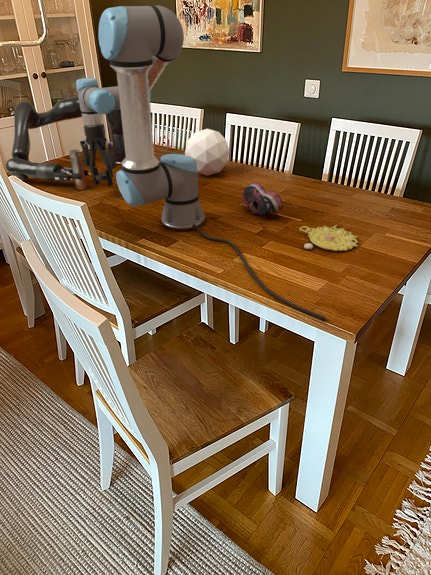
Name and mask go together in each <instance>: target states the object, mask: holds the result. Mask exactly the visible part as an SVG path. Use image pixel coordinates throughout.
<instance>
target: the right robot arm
mask: <svg viewBox="0 0 431 575" xmlns="http://www.w3.org/2000/svg"><path fill="white" fill-rule="evenodd" d="M184 39H185V32H184V28H183V25H182V23H181V21H180V18H178V16H177V15H176V13H174V12H173V11H172V10H171V9H170V8H167V7H165V6H162V5H158V4H157V5H129V6H125V5H121V6H120V5H119V6H113V7H108V8H106V9H104V11H103V12H102V14H101V16H100V18H99V22H98V44H99V48H100V52H101V54H102V56H103V58H104V59H105V60H108V61H109V66H110V68H112V69H113V71H115V73H116V79H117V80H116V81H117V85H116V86H109V87H100V85H99V82H98V80H97V79H96V78H94V77H84V78H79V79H77V80H76V83H75V84H76V85H75V86H76V93H77V96H78V98H79V103H80V109H81V115H82V117H81V120H82V124H83V132H84V135H85V139H82V140H80V141H79V144H80V147H81V150H82V156H83V162H84V166H85V168H89V170H90V175H91V177H92V178H93V184H94V186H98V185H100V183H101V182H100V181H99V180H96V178H95V174H97V173H99V171H98V167H97V166H96V160H97V151H98V153H99V155H100V156H101V158H102V162H103V164H104V167H105V170H104V172H105V173H106V180H105V181H106V185H107V187H108V188H110V187H111V186H113V177H114V173H113V170H114V169H116V168H117V164H116V161H115V155H114V149H113V147H114V142H111V141H109V140H108V139H107V137H106V127H105V124H104V115H106V114H108V113H110V112H111V111H114V110H121V118H122V127H123V136H124V145H125V155H126V157H125V159H124V160H123V161H122V164H121V169H119V170H118V171H116V173H115V179H116V180H115V181H116V184H117V187H118V190H119V192H120V194H121V196H122V198H123V200H124V201H125V202H126V203H127V204H128V205H129V206H130V207H138V206H145V205H147V204H151V203H155V202H159V201H162V200H164V204H163V209H162V213H161V219H160V220H161V225H162V227H163V228H165V229H167V230H170V231H175V232H176V231H177V232H185V231H186V232H187V231H192V230H195V229H196V230H197V231H198V232H199V233H200V234H201V235H202V236H203V237H204V238H207V239H209V240H212V241H218V242H224V243H227V244H229V245H231V246H232V247H233V249H234V250H235V251H236V254H237V255H238V256H239V258H240V259H241V261H242V262H243V264H244V266H245V267H246V269H247V271H248V272H249V273H250V275H251V276H252V279H254V280H255V281H256V282H257V284H258V285H259V286H260V287H261V288H262V289H264V291H265V292H267V293H269V294H270V295H272V296H273V297H274V298H276V299H277V300H279V301H281V302H283V303H285V304H287V305H289V306H291V307H293V308H294V309H297V310H299V311H300V312H303V313H306V314H308V315H311V316H314V317H316V318H319V319H322V320H323V321H324V320H326V316H324V315H321V314H319V313H317V312H314V311H311V310H309V309H306V308H304V307H301V306H300V305H297V304H296V303H292V302H291V301H288V300H287V299H285V298H283V297H281V296H280V295H278V294H276V293H275V292H273V290H271V289H270V288H268V287H267V286H266V285H265V284H264V283H263V282H262V281H261V280H260V279H259V278H258V277H257V276H256V274H255V273H254V271H253V270H252V269H251V267H250V266H249V264H248V262H247V261H246V259H245V258H244V256H243V254H242V253H241V252H240V251H239V250H240V249H239V248H238V247H237V246H236V244H235V243H233V242H232V241H230V240H228V239H224V238H218V237H212V236H209V235H208V234H206V233H205V232H204V231H203V230H202V229H201V227H202V226H203V225H204V224H205V223H206V215H205V212H204V210H203V208H202V204H201V202H200V196H199V176H198V174H199V173H198V170H197V163H196V160H195V159H194V158H192V157H190V156H186V155H185V154H178V153H176V154H175V153H169V154H163V155H161V156H160V159H158V158H157V157H156V156H155V152H154V138H153V137H154V136H153V127H152V126H153V122H152V109H151V101H152V92H151V90H152V89H153V87H154V85H155V84H156V83H157V81H158V79H159V78H160V76H161V75H162V73H163V72H164V70H165V69H166V68H167V66H168V65H169V63H172V62H174V61H175V60H176V59H177V58H178V56H179V54H180V53H181V51H182V49H183V45H184Z"/></svg>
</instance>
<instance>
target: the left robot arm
mask: <svg viewBox="0 0 431 575" xmlns="http://www.w3.org/2000/svg"><path fill="white" fill-rule="evenodd" d="M13 109H14V110H13V111H14V112H13V120H14V136H13V142H12V143H13V144H12V149H11V158H9V159H7V160H6V162H5V169H6V170H7V172H8V173H9V174H10V175H11V176H12V177H14V176H16V177H18V178H19V179H21V180H22V181H21V182H24V181H26V180H27V179H28V178H29V179H32V180H41V181H44V182H45V181H46V182H57V183H60V182H70V181H73V180H74V179H77V180H81V179H82V175H81V174H74V173H73V171H72V166H70V167H63V166H62V164H60V163H54V162H33V161H30V158H29V156H30V151H31V139H30V131H29V130H34V129H38V128H41V127H45V126H49V125H51V124H55V123H60V122H63V121H64V122H65V121H70V120H75V119H79V118H82V115H81V109H80V103H79V98H78V95H77V96H71V97H65V98H62V99H60V100H58V101H57V102H56V103H55V104H54V105H53V107H52V108H50V109H49V110H47V111H44V112H38V111H37V110H36V109H35V107H34V105H33V104H32V102H29V101H26V100H25V101H20V102H18V103H17V104H16V105H15V107H14V108H13ZM105 117H106V121H107V125H108V130H109V137H110V142H114V147H113V149H114V155H115V161H116V165H122V161H123V160H124V159H125V157H126V155H125V145H124V136H123V127H122V118H121V110H114V111H111V112H110V113H108V114H105ZM89 173H90V172H89V170H87V169H84V174H85V177H87V176H89V175H90V174H89Z"/></svg>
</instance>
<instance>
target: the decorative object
mask: <svg viewBox="0 0 431 575" xmlns="http://www.w3.org/2000/svg"><path fill="white" fill-rule="evenodd" d="M303 228H304V229H305V230H304V229H303ZM299 231H300V232H303V233H305V234H307V237H308V238H309V240H310V241H311V243H304V244H303V248H304V249H305V250H313V249H314V245H315V246H316V247H318V248H321V249H324V250H328V251H335V252H341V251H348V250H352V249H354V247H356V248H358V247H359V245H358V244H357V243H359V240H357V238H359V237H358V235H353V234H352V231H347V230H346V229H345V228H344V227H342V228H338V224H335V225H333V226H331V227H328V226H327V225H326V224H325V225H323V226H322V227H321V226H317V227H316V228H314V227H309V226H308V225H302V226H300V227H299ZM313 244H314V245H313Z"/></svg>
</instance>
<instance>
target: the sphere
mask: <svg viewBox="0 0 431 575" xmlns="http://www.w3.org/2000/svg"><path fill="white" fill-rule="evenodd" d="M230 153H231V151H230V148H229V145H228V142H227V139H226V138H225V137H224V136H223V135H222V133H221V132H220V131H217V130H214V129H210V128H205V129H202V130H201V129H200V130H199V131H195V132H194V133H193V134H192V135H191V136H190V137H189V139H188V140H187V143H186V146H185V151H184V155H186V156H190V157H192V158H194V159H195V160H196V163H197V170H198V174H199V175H204V176H207V177H209V176H212V175H215V174H218V173H220V172H221V171H222V170H223V169H224V167H225V166H226V165H227V162H228V159H229V156H230Z"/></svg>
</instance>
